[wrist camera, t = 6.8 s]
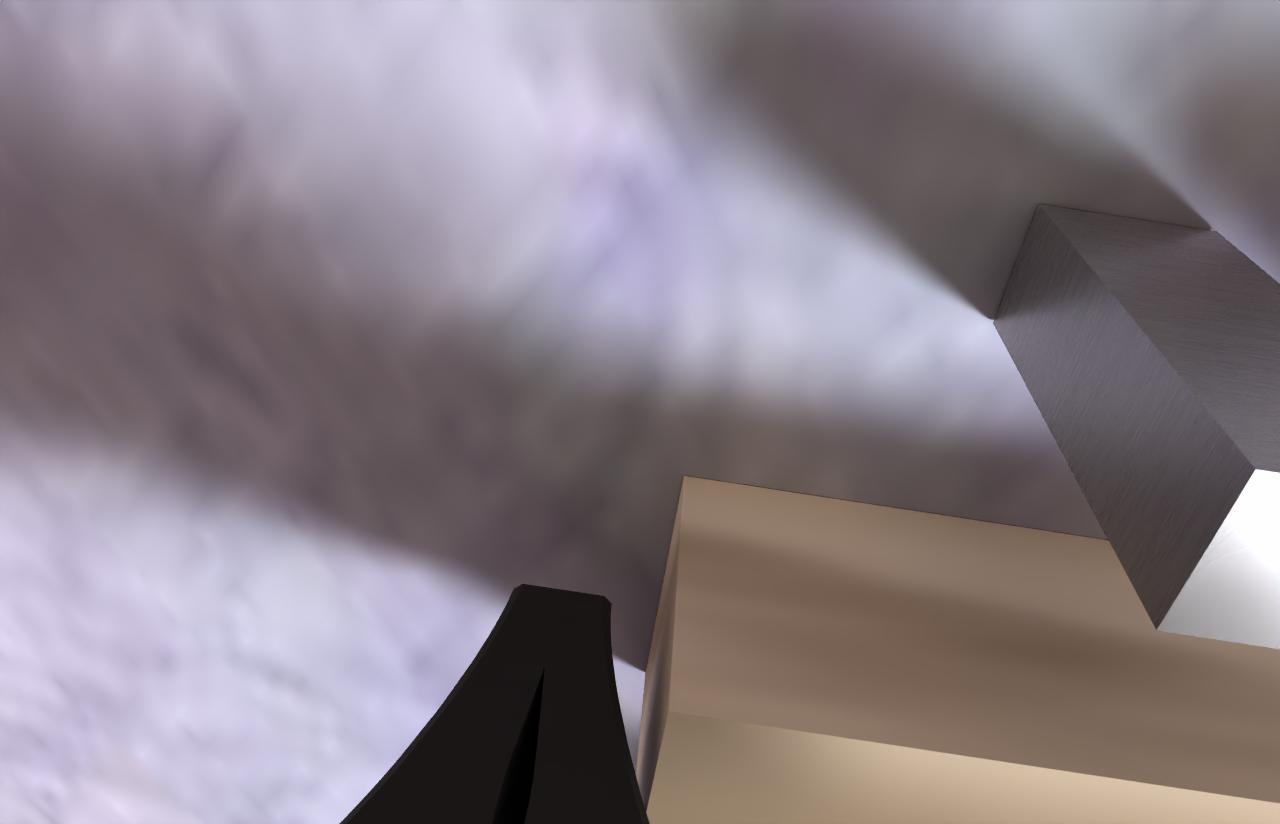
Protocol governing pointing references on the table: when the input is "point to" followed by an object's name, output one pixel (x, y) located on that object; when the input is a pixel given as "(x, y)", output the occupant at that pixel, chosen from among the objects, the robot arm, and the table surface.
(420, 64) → the table surface
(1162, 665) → the bar
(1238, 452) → the set of grey posts
